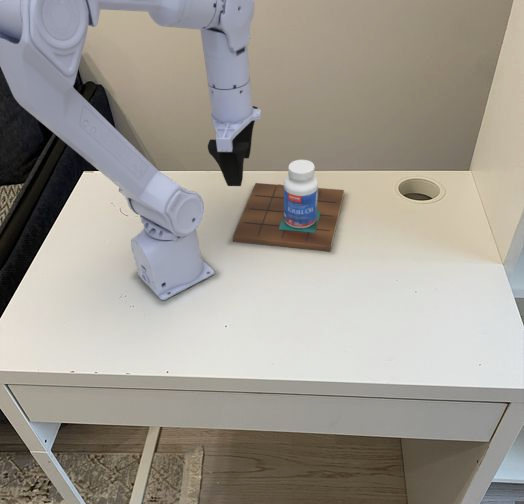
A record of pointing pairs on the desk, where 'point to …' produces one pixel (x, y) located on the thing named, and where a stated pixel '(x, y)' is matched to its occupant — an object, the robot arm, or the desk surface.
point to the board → (275, 228)
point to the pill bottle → (300, 194)
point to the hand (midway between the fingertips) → (238, 170)
